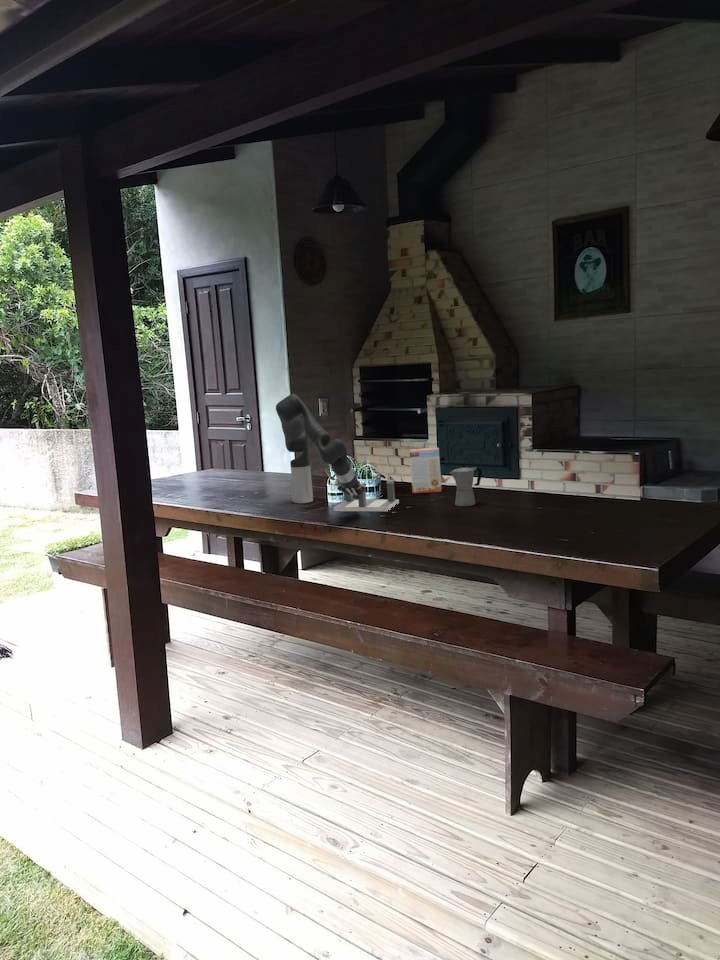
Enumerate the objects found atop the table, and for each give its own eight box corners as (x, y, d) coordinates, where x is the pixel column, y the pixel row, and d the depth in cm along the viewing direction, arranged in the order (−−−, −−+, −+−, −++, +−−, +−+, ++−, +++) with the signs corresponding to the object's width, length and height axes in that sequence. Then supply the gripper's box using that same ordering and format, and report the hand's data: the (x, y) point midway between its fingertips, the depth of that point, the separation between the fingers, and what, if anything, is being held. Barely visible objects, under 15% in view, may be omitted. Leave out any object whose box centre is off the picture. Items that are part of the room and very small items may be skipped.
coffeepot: (455, 507, 318) (453, 466, 315) (446, 504, 327) (444, 463, 324) (488, 503, 322) (486, 462, 319) (478, 499, 331) (477, 459, 328)
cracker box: (441, 489, 360) (439, 446, 356) (441, 492, 354) (439, 448, 351) (412, 491, 361) (409, 448, 358) (412, 493, 356) (409, 450, 352)
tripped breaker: (358, 506, 326) (357, 485, 325) (361, 504, 329) (359, 484, 328) (364, 506, 326) (362, 485, 324) (366, 504, 328) (364, 484, 327)
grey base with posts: (333, 511, 329) (331, 487, 327) (347, 503, 345) (345, 480, 343) (387, 511, 321) (386, 486, 319) (399, 503, 336) (397, 479, 335)
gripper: (328, 482, 307) (341, 505, 320) (359, 482, 302) (370, 505, 316) (332, 467, 311) (344, 490, 324) (362, 467, 306) (373, 490, 320)
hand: (357, 497), depth 320 cm, fingers closed
